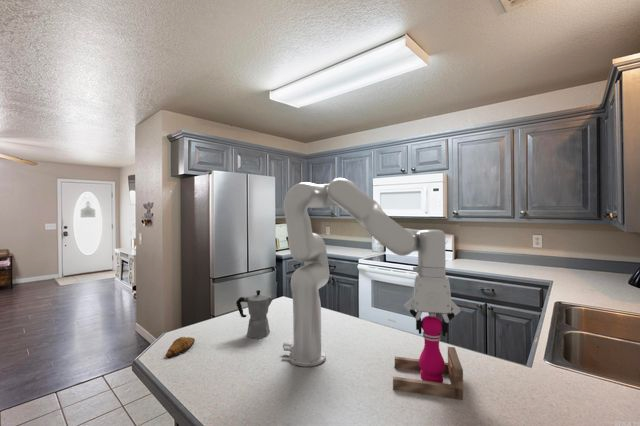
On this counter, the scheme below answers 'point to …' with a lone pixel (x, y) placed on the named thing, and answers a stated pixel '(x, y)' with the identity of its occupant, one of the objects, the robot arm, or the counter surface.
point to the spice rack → (432, 388)
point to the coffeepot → (256, 314)
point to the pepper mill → (431, 350)
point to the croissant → (180, 346)
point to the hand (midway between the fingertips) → (431, 332)
